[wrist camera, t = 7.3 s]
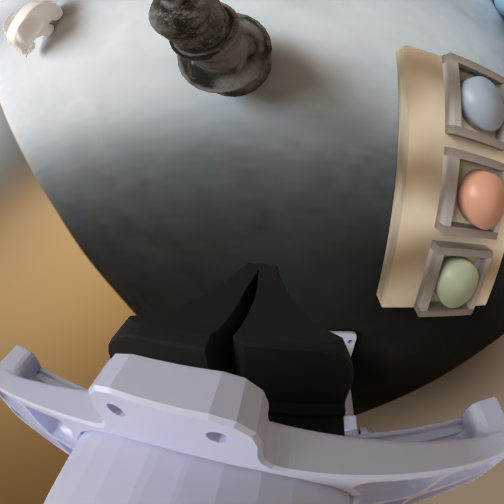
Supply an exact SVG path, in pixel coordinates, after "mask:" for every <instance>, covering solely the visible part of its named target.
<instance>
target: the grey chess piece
mask: <svg viewBox="0 0 504 504" xmlns="http://www.w3.org/2000/svg"><path fill="white" fill-rule="evenodd" d="M149 21H150V23H151V26H152V27H153V28H154V29H155V31H156V32H157V33H159V34H161V35H162V36H164V37H165V38H167V39H168V40H169V42H170V45H171V47H172V49H173V50H174V51H175V53H176V54H177V58H178V66H179V69H180V71H181V74H182V75H183V77H184V78H185V79H186V80H187V81H188V82H189V83H190V84H191V85H193V86H195V87H196V88H198V89H200V90H203V91H207V92H211V93H218V94H221V95H224V96H240V95H245V94H247V93H250V92H252V91H254V90H255V89H257V88H258V87H259V86H261V84H262V83H263V82H264V81H265V80H266V78H267V76H268V74H269V72H270V68H271V57H270V56H271V50H272V47H271V41H270V37H269V35H268V33H267V31H266V29H265V28H264V27H263V26H262V25H261V24H260V23H259V22H258V21H257V20H255V19H253V18H251V17H249V16H247V15H243V14H239V13H236V12H235V11H234V10H233V9H232V8H231V7H230V6H228V5H226V4H224V3H222V2H220V1H219V0H154V1H153V2H152V4H151V7H150V10H149Z"/></svg>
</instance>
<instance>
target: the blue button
mask: <svg viewBox="0 0 504 504" xmlns="http://www.w3.org/2000/svg"><path fill="white" fill-rule="evenodd" d="M460 89H461V116H462V117H463V119H464V120H465V121H466V123H467V124H468V125H470V126H471V127H473V128H474V129H477V130H489V131H495V130H497V129H499V128H500V127H501V125H502V123H503V121H504V104H503V100H502V97H501V95H500V93H499V91H498V89H497V88H496V87H495V85H494V84H493V83H492V82H491V81H490V80H488V79H487V78H485V77H482V76H476V77H472V78H467V79H464V80H462V81H461V82H460Z"/></svg>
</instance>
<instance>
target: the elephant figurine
mask: <svg viewBox="0 0 504 504" xmlns="http://www.w3.org/2000/svg"><path fill="white" fill-rule="evenodd" d="M62 15H63V11H62V9H61V8H60V7H59V5H57V4H56V3H55V2H52V1H47V0H37V1H33V2H30V3H28V4H27V5H25V6H24V7H23V8H22V9H21V10H20V11H19V12H18V13H14V14H11V15H10V16H9V17H8V18H7V19H6V21H5V22H4V25H3V29H4V32H5V34H6V36H7V41H8V43H9V44H10V45H12V46H13V47H14V48H15V49H16V50H17V52H19V53H20V55H21V54H26V57H27V55H28V54H29V53H30V52H31V51H33V50H34V48H35V45H36V44H35V43H34V42H33V41H34V40H35V39H36V38H38V37H41V36H49V35H51V34H52V33H53V31H54V26H53V25H52V24H50V21H51V20H53V21H57V20H59V19H60V18H61V17H62Z"/></svg>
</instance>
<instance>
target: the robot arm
mask: <svg viewBox="0 0 504 504" xmlns="http://www.w3.org/2000/svg"><path fill="white" fill-rule="evenodd" d="M356 338H357V335H356V333H355V332H353V331H328V330H327V329H325V328H323V327H322V326H320V325H319V324H317V323H316V322H314V321H313V320H312V319H310V318H309V317H308V316H307V315H306V314H305V313H304V312H303V311H302V310H301V309H300V308H299V307H298V306H297V305H296V303H295V302H294V301H293V299H292V298H291V296H290V295H289V293H288V292H287V290H286V288H285V286H284V284H283V282H282V280H281V278H280V275H279V272H278V267H277V266H276V265H268V264H250V263H248V264H246V265H245V266H244V267H243V268H242V269H240V270H239V271H238V272H237V273H236V274H234V275H233V276H232V277H230V278H229V279H228V280H227V281H225V282H224V283H222V284H221V285H219V286H218V287H216V288H215V289H213V290H211V291H210V292H208V293H206V294H204V295H202V296H200V297H198V298H196V299H194V300H191V301H189V302H186V303H184V304H181V305H179V306H176V307H173V308H169V309H166V310H162V311H158V312H153V313H147V314H141V315H135V316H130V317H129V318H128V319H127V320H126V322H125V323H124V324H123V325H122V326H121V328H120V329H119V330H118V331H117V333H116V334H115V335H114V337H113V338H112V339H111V341H110V343H109V355H110V358H111V359H110V360H109V361H108V362H107V364H106V365H105V367H104V368H103V369H102V371H101V372H100V374H99V375H98V377H97V378H96V379H95V381H94V382H93V384H92V385H91V387H90V388H89V389H86V388H83V387H81V386H79V385H76V384H74V383H72V382H70V381H68V380H65V379H63V378H61V377H59V376H57V375H55V374H53V373H51V372H49V371H47V370H45V369H43V368H41V366H40V363H39V362H38V360H37V359H36V357H35V356H34V354H33V353H31V352H30V351H29V350H27V349H25V348H23V347H21V346H19V345H17V346H16V347H15V348H14V349H13V350H12V351H11V352H10V353H9V354H8V355H7V356H6V357H5V358H4V359H3V360H2V361H1V362H0V396H1V398H2V399H3V400H4V401H5V403H6V404H7V405H8V406H9V407H10V409H11V410H12V411H13V412H14V413H15V415H16V416H18V417H19V418H20V419H21V420H22V421H24V422H25V423H26V424H28V425H29V426H30V427H32V428H33V429H34V430H35V431H37V432H38V433H39V434H41V435H42V436H43V437H45V438H46V439H47V440H49V441H50V442H51V443H53V444H54V445H56V446H57V447H59V448H60V449H62V450H63V451H64V452H66V453H68V454H69V455H70V456H69V458H68V459H67V461H66V463H65V465H64V467H63V468H62V470H61V472H60V474H59V476H58V477H57V479H56V481H55V483H54V485H53V486H52V488H51V490H50V492H49V494H48V496H47V498H46V500H45V502H44V504H413V503H416V502H419V501H422V500H425V499H428V498H431V497H434V496H437V495H439V494H442V493H445V492H447V491H450V490H452V489H455V488H457V487H460V486H462V485H465V484H467V483H469V482H471V481H474V480H476V479H477V478H479V477H480V476H481V475H483V474H484V473H485V472H487V471H488V470H489V469H490V468H492V467H493V466H495V465H496V464H497V463H498V462H499V461H501V460H502V459H503V458H504V414H503V411H502V409H501V407H500V404H499V402H498V400H497V398H496V397H491V398H487V399H484V400H481V401H477V402H475V403H473V404H472V405H470V406H469V407H468V408H467V409H466V410H465V411H464V413H463V414H462V416H461V417H460V418H457V419H453V420H449V421H445V422H440V423H435V424H431V425H426V426H421V427H415V428H409V429H402V430H396V431H388V432H379V433H374V432H373V431H372V430H370V429H368V427H367V426H362V427H359V434H358V430H357V420H356V416H355V415H354V414H353V405H352V397H351V386H352V383H353V379H354V368H353V363H352V360H351V355H352V352H353V349H354V345H355V342H356ZM349 340H352V341H349Z"/></svg>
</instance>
